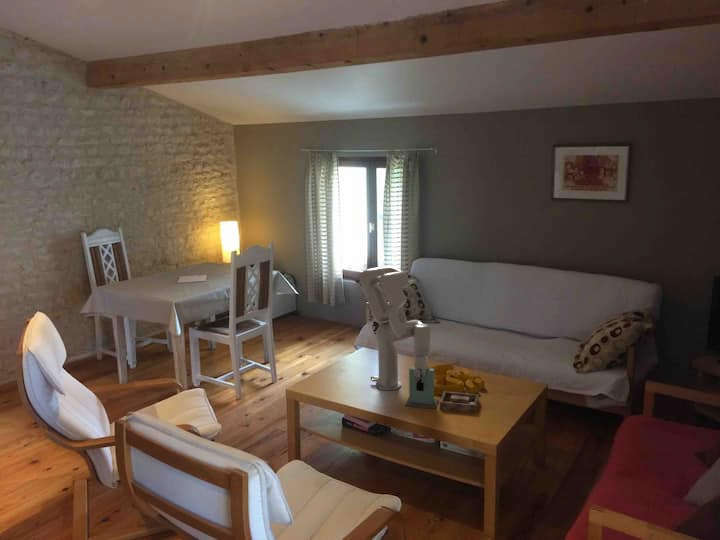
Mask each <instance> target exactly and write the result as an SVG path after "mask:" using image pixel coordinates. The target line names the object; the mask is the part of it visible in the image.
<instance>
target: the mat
mask: <svg viewBox="0 0 720 540" xmlns="http://www.w3.org/2000/svg"><path fill="white" fill-rule="evenodd" d="M439 402H440V399H439V398H434V403H433V404H425V403H415V402H409V397H408V398H407V400H406V402H405V403H404V407H409V406H411V407H412V408H419V407H421V409H429V408H430V409H432V410H436V409H435V408H437V406H438V404H437V403H439ZM411 407H410V408H411Z"/></svg>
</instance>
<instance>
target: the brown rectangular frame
mask: <svg viewBox="0 0 720 540" xmlns="http://www.w3.org/2000/svg"><path fill="white" fill-rule="evenodd" d="M452 395H454V396H466V397H469V401H471V402H474V404H463V403H453V402H450V401H447V399H449V400H451V396H452ZM478 404H479V394H477V393H473V394H471V393H469V392H467V393H466V392H463V393H457V392H446V391H444V393H443V395H441V399H439V410H440V409H441V410H442V411H450V410H451V412H461V413H462V412H463V413H472V414H476V412H477V410H478V409H477V408H478ZM476 409H477V410H476Z"/></svg>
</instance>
